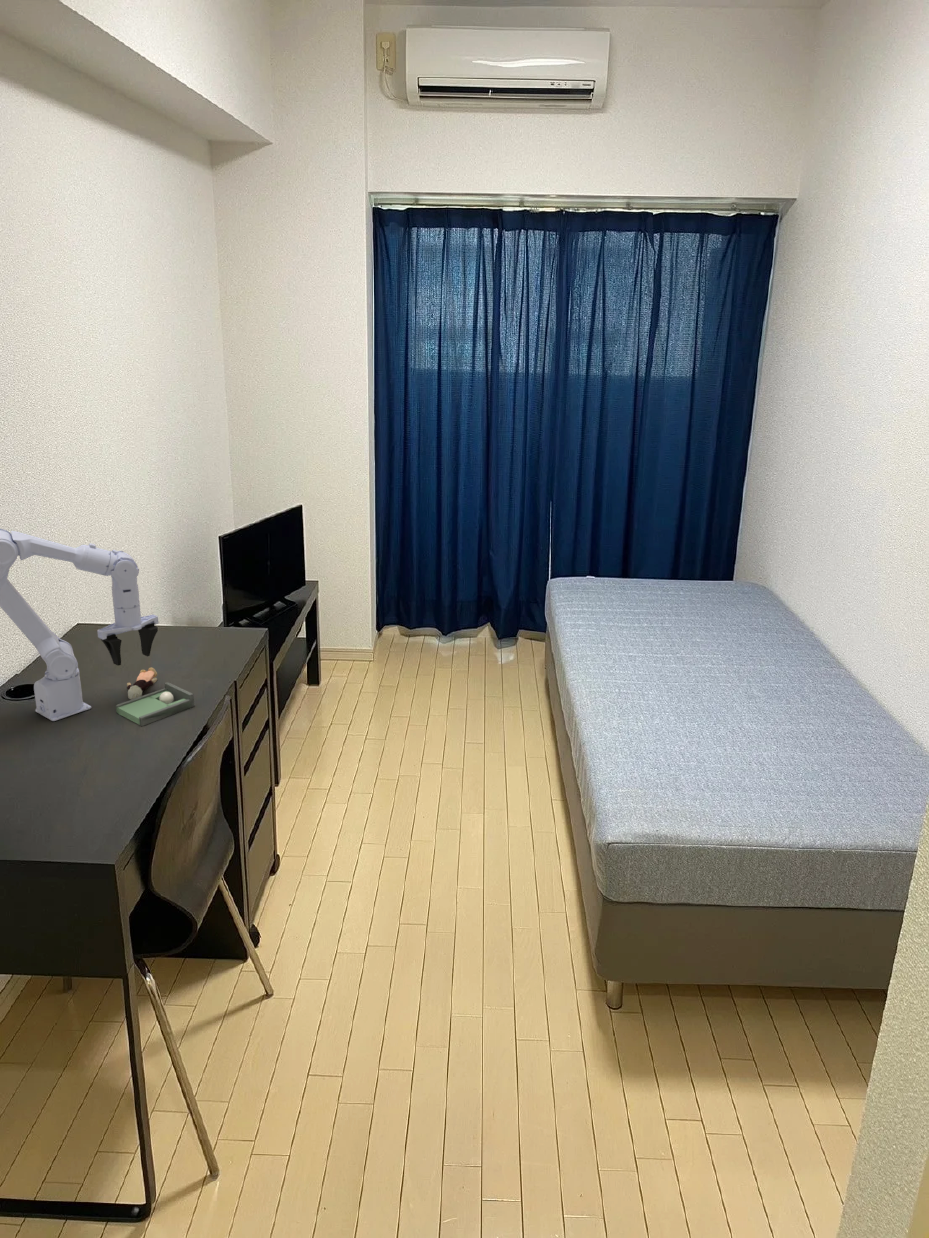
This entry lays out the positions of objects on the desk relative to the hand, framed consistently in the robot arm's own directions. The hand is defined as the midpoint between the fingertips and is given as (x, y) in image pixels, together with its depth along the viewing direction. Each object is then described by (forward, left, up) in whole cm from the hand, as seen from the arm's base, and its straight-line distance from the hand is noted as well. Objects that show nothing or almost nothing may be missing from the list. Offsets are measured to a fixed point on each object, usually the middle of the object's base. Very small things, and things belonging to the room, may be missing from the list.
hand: (131, 659), depth 213 cm
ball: (+3, -9, -8) cm, 12 cm away
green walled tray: (-1, -9, -10) cm, 13 cm away
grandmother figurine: (+9, +7, -8) cm, 14 cm away
